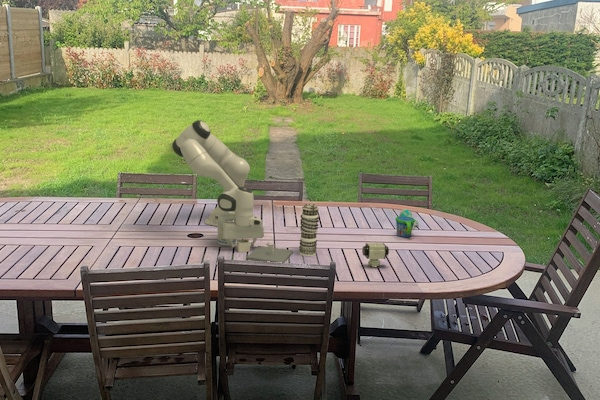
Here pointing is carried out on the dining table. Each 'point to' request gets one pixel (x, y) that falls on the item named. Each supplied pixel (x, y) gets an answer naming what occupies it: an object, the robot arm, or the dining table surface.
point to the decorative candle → (308, 230)
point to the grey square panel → (269, 254)
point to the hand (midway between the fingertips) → (242, 246)
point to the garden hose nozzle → (407, 213)
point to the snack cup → (404, 225)
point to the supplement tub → (220, 229)
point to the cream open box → (243, 245)
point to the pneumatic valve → (375, 253)
